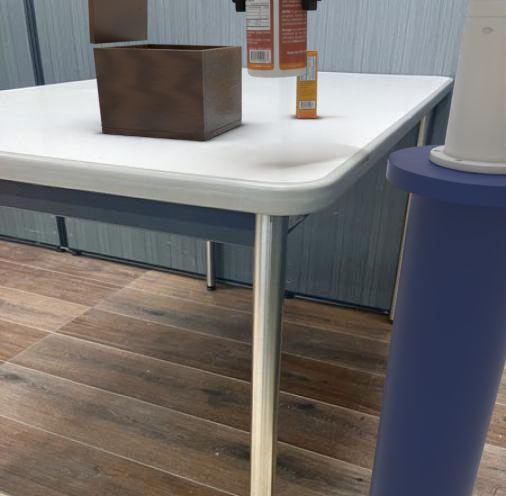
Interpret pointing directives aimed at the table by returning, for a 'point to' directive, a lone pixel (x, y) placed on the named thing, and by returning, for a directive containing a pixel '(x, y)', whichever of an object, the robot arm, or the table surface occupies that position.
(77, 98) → the table surface
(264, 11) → the pill bottle
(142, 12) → the lid
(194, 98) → the chest
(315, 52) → the supplement box
